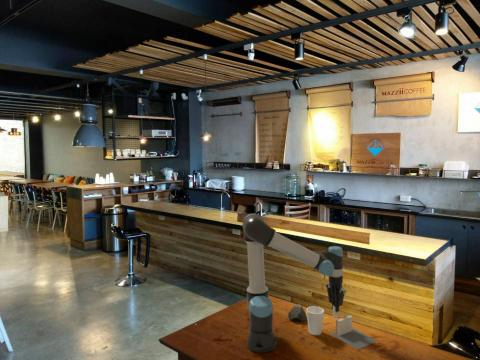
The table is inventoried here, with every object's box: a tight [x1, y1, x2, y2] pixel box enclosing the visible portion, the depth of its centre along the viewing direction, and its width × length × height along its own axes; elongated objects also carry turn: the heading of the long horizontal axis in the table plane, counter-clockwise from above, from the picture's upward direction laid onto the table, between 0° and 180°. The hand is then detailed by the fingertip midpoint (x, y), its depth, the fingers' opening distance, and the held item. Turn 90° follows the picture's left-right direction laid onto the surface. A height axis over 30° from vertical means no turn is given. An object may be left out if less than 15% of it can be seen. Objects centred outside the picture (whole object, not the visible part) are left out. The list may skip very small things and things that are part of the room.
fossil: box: [287, 303, 308, 322], centre depth 219 cm, size 11×9×10 cm
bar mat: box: [330, 327, 378, 350], centre depth 195 cm, size 15×18×1 cm
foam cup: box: [305, 306, 325, 336], centre depth 200 cm, size 10×9×13 cm
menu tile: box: [335, 314, 354, 336], centre depth 200 cm, size 10×2×8 cm, turn 121°
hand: (335, 316), depth 205 cm, fingers closed
